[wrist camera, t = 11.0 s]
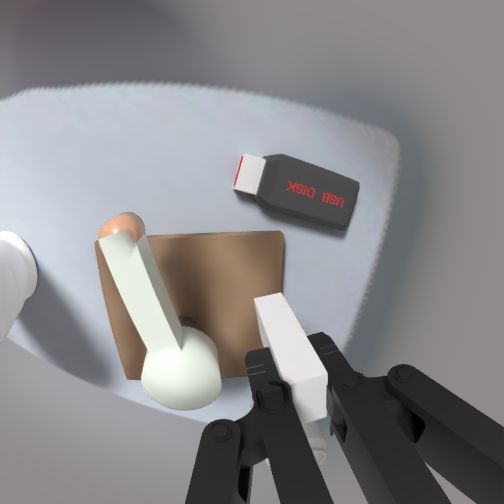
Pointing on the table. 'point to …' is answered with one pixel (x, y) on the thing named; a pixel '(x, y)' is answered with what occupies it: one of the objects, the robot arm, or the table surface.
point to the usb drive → (298, 188)
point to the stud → (187, 322)
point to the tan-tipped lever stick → (159, 322)
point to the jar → (14, 278)
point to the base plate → (204, 292)
